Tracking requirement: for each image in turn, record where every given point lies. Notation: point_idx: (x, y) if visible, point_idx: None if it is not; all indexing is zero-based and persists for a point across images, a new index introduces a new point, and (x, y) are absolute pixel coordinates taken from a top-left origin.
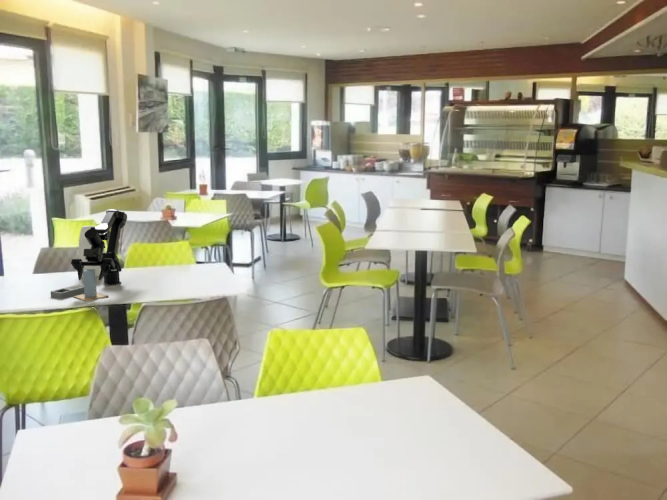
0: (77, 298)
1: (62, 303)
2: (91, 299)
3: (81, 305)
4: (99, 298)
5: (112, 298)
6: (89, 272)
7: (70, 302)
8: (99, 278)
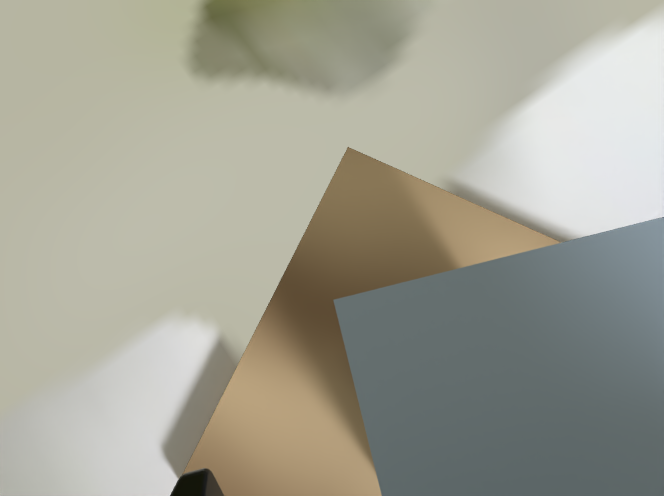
0: None
1: (637, 46)
2: (307, 229)
3: (318, 30)
4: (249, 347)
5: (97, 459)
6: (438, 284)
7: (567, 114)
8: (180, 479)
